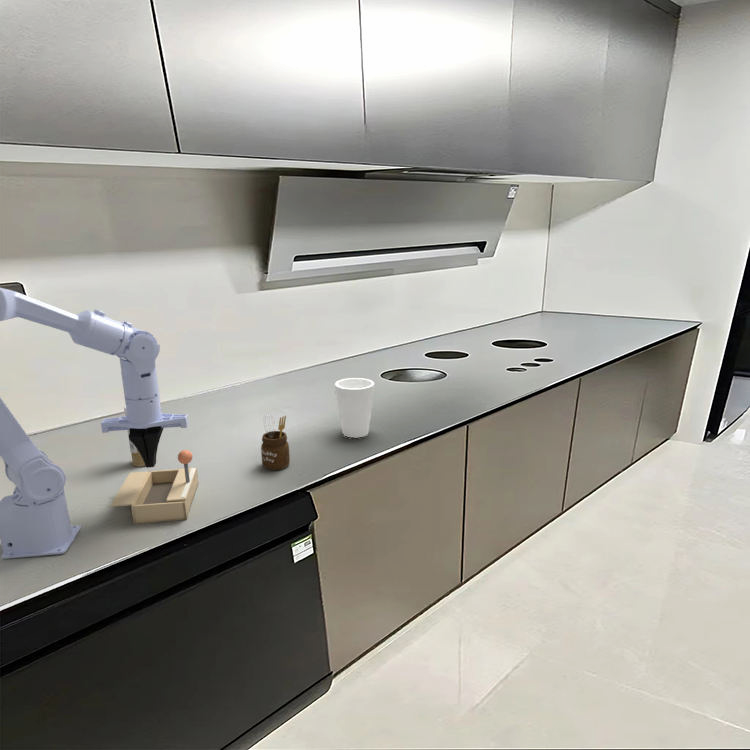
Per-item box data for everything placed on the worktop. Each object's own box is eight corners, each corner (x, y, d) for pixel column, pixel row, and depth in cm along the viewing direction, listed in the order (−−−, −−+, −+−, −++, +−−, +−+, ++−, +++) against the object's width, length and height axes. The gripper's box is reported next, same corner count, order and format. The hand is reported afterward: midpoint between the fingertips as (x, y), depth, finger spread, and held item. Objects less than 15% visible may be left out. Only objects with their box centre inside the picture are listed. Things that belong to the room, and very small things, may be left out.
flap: (166, 501, 98) (162, 466, 96) (179, 469, 110) (176, 438, 109) (189, 499, 99) (185, 464, 97) (200, 468, 111) (196, 436, 109)
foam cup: (328, 433, 138) (327, 383, 134) (357, 424, 144) (356, 375, 140) (353, 444, 131) (352, 392, 127) (382, 434, 137) (382, 383, 133)
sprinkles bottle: (154, 465, 121) (147, 406, 117) (131, 469, 119) (123, 409, 115) (153, 457, 125) (146, 400, 121) (131, 460, 123) (123, 403, 119)
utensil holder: (277, 456, 125) (274, 406, 121) (296, 464, 121) (294, 412, 117) (256, 465, 120) (252, 413, 117) (275, 474, 116) (272, 420, 113)
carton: (112, 525, 97) (109, 506, 96) (133, 488, 111) (130, 471, 110) (186, 519, 99) (184, 501, 98) (198, 483, 112) (196, 466, 111)
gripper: (188, 386, 104) (195, 453, 108) (105, 390, 102) (115, 458, 105) (181, 398, 97) (189, 469, 101) (93, 403, 95) (104, 475, 99)
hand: (151, 465), depth 103 cm, fingers closed
